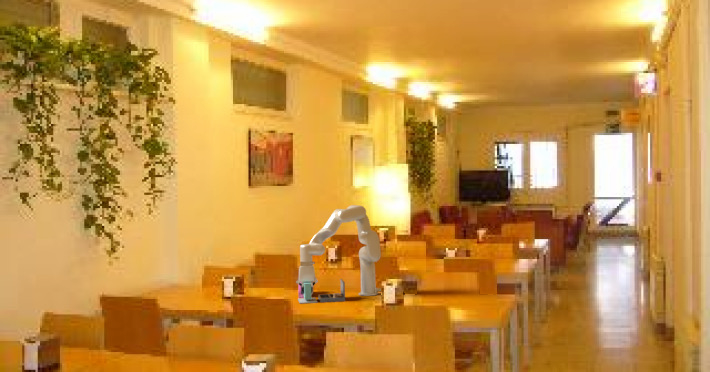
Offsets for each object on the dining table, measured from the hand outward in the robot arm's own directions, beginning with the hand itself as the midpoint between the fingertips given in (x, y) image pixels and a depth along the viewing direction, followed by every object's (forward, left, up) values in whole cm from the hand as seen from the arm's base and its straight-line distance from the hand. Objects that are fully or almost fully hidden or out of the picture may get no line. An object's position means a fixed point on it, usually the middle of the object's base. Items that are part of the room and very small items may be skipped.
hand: (307, 292), depth 513 cm
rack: (-15, 0, -5) cm, 16 cm away
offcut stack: (-19, 0, -6) cm, 20 cm away
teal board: (0, 0, -3) cm, 3 cm away
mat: (0, 0, -5) cm, 5 cm away
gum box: (-1, -25, -6) cm, 25 cm away
